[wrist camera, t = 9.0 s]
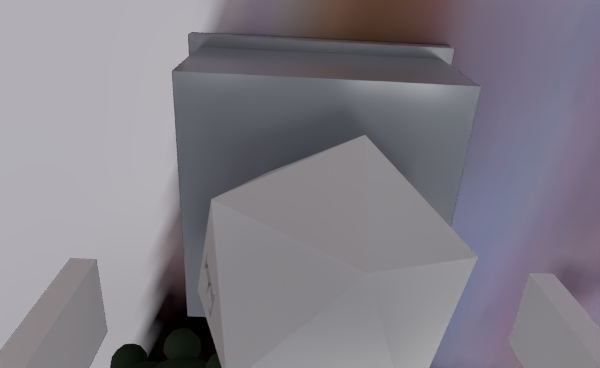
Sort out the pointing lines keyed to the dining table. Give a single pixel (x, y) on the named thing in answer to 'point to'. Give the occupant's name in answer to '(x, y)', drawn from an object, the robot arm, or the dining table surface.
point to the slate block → (312, 117)
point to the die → (330, 266)
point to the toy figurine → (167, 353)
